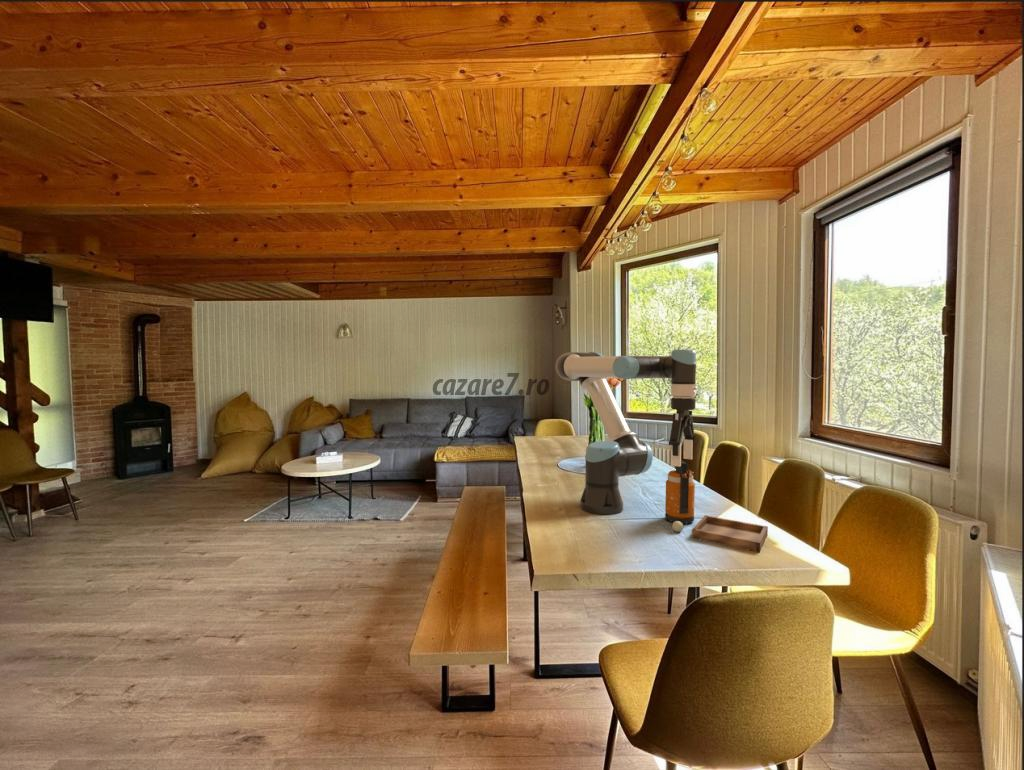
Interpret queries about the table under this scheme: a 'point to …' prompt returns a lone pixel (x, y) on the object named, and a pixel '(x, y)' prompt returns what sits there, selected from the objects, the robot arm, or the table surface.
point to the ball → (677, 526)
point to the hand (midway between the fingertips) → (682, 462)
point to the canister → (680, 495)
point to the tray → (731, 533)
